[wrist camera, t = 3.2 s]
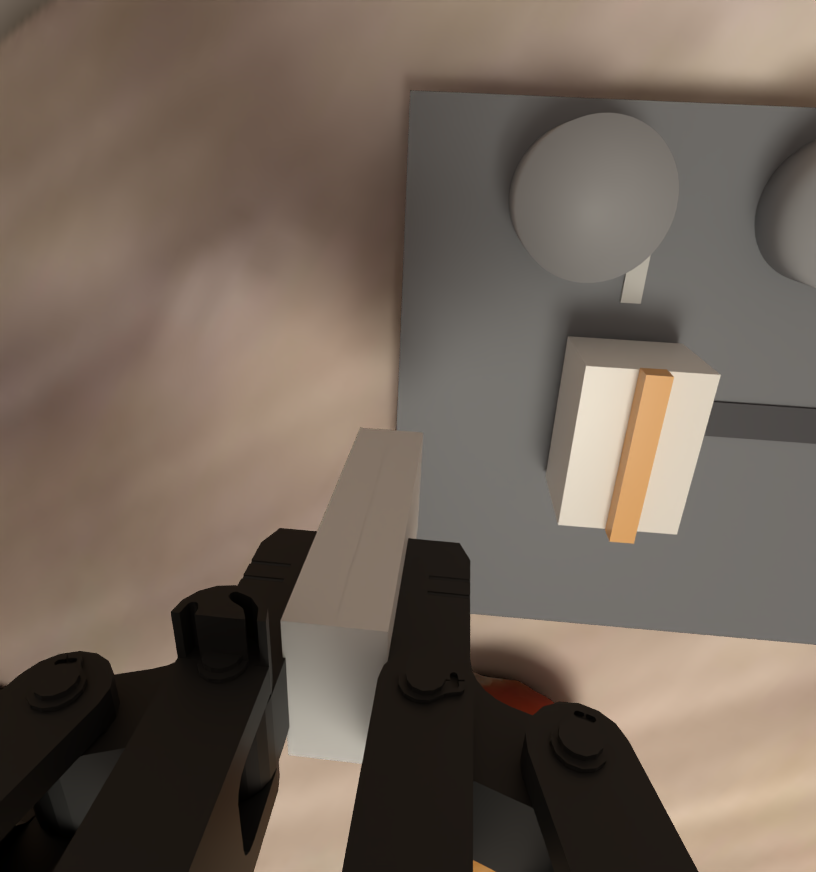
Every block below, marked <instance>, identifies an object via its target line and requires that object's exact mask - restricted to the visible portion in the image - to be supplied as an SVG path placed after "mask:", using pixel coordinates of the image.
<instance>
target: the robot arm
mask: <svg viewBox="0 0 816 872" xmlns="http://www.w3.org/2000/svg"><path fill="white" fill-rule="evenodd" d="M422 446H423V433H422V432H410V431H397V430H385V429H372V428H360V429H359V432H358V434H357V437H356V439H355V441H354V444H353V446H352V449H351V451H350V454H349V456H348V458H347V461H346V463H345V466H344V468H343V470H342V473H341V475H340V478H339V480H338V483H337V485H336V487H335V490H334V492H333V495H332V497H331V500H330V502H329V504H328V507H327V509H326V512H325V514H324V516H323V519H322V521H321V524H320V526H319V529H318V531H306V530H295V529H284V528H279V529H278V530H277V531H276V532H274V533H273V534H272V535H270V536H269V537H268V538H266V539H265V540H264V541H262V542H261V544H260V546H259V548H258V549H257V551H256V553H255V555H254V557H253V559H252V562H251V564H249V566H248V568H247V570H246V571H245V573H244V577H243V579H241V580H240V582H239V584H238V586H236V585H231V586H215V587H211V588H208V589H204V590H200V591H198V592H196V593H194V594H192V595H190V596H189V597H187V598H185V599H183V600H182V601H181V602H180V603H179V604H178V605H177V606H176V607H175V608H174V609H173V610H172V611H171V617H172V623H173V629H174V636H175V642H176V648H177V655H178V658H177V660H176V662H175V663H172V664H170V665H167V666H163V667H159V668H154V669H149V670H142V671H135V672H129V673H122V674H116V675H114V673H113V670H112V668H111V665H110V663H109V661H108V660H106V659H105V658H103V657H102V656H100V655H99V654H97V653H90V652H83V651H78V652H71V653H64V654H59V655H56V656H54V657H51V658H48V659H46V660H43V661H41V662H39V663H37V664H35V665H34V666H32V667H31V668H29V669H28V670H26V671H25V672H23V673H22V674H20V675H19V676H18V677H17V678H15V679H14V680H13V681H12V682H10V683H9V684H8V685H7V686H6V687H4V688H3V689H2V690H0V872H254V868H255V865H256V862H257V858H258V855H259V852H260V849H261V845H262V842H263V839H264V835H265V832H266V829H267V825H268V822H269V819H270V816H271V812H272V809H273V806H274V802H275V799H276V796H277V792H278V787H279V776H280V774H279V758H280V755H281V752H282V749H283V746H284V743H285V740H286V737H287V739H288V755H292V756H300V757H309V758H317V759H326V760H334V761H342V762H351V763H359V764H362V766H361V772H360V777H359V783H358V788H357V793H356V799H355V804H354V810H353V815H352V820H351V826H350V831H349V837H348V842H347V848H346V853H345V858H344V864H343V869H342V872H473V860H474V861H476V862H478V863H480V864H482V865H484V866H486V867H488V868H490V869H491V870H493V871H495V872H698V870H697V868H696V866H695V864H694V863H693V861H692V859H691V857H690V855H689V853H688V851H687V849H686V848H685V846H684V844H683V842H682V840H681V838H680V836H679V834H678V833H677V831H676V829H675V827H674V825H673V823H672V821H671V819H670V818H669V816H668V814H667V812H666V810H665V808H664V806H663V804H662V803H661V801H660V799H659V797H658V795H657V793H656V791H655V789H654V788H653V786H652V784H651V782H650V780H649V778H648V776H647V774H646V773H645V771H644V769H643V767H642V765H641V763H640V761H639V759H638V758H637V756H636V754H635V752H634V750H633V748H632V746H631V744H630V743H629V741H628V739H627V738H626V737H625V735H624V734H623V733H622V731H621V730H620V729H619V727H618V726H617V725H616V724H615V723H614V722H613V721H611V720H610V719H609V718H607V717H606V716H605V715H603V714H602V713H601V712H599V711H597V710H595V709H592V708H590V707H587V706H584V705H582V704H579V703H568V702H557V703H553V704H550V705H546V706H543V707H542V708H540V709H539V710H538V711H537V712H536V713H535V714H534V715H531V714H528V713H526V712H523V711H521V710H518V709H516V708H513V707H511V706H509V705H507V704H505V703H503V702H501V701H499V700H497V699H496V698H494V697H493V696H492V695H491V694H489V693H488V692H487V691H485V689H484V688H483V687H482V686H481V685H480V683H479V682H478V681H477V679H476V677H475V675H474V673H473V671H472V668H471V662H470V559H469V557H468V556H467V554H466V552H465V551H464V549H463V548H462V546H461V544H460V543H455V542H444V541H433V540H423V539H416V536H417V529H418V512H419V496H420V479H421V462H422Z"/></svg>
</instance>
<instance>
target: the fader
mask: <svg viewBox="0 0 816 872" xmlns="http://www.w3.org/2000/svg"><path fill="white" fill-rule="evenodd" d="M720 376H721V375H720V374H719V373H718V372H717V371H715V370H714V369H713V368H712V367H711V366H709V365H708V364H707V363H706V362H704V361H703V360H702V359H701V358H700V357H698V356H697V355H696V354H695V353H693V352H692V351H691V350H690V349H689V348H687V347H686V346H685V345H684V344H680V343H665V342H649V341H634V340H618V339H603V338H587V337H572V336H568V339H567V345H566V351H565V358H564V364H563V370H562V377H561V383H560V389H559V395H558V402H557V408H556V414H555V420H554V427H553V433H552V439H551V446H550V452H549V458H548V464H547V471H546V477H545V478H546V482H547V485H548V489H549V493H550V496H551V500H552V504H553V508H554V511H555V515H556V519H557V523H558V525H565V526H577V527H590V528H602V529H605V532H606V534H607V537H608V539H609V542H620V543H632V544H634V541H635V537H636V533H637V531H639V532H651V533H663V534H676V535H677V532H678V529H679V525H680V521H681V518H682V514H683V510H684V507H685V503H686V500H687V496H688V492H689V489H690V485H691V481H692V478H693V474H694V470H695V467H696V463H697V460H698V456H699V452H700V449H701V445H702V441H703V438H704V434H705V431H706V427H707V423H708V420H709V416H710V412H711V409H712V405H713V402H714V398H715V394H716V391H717V387H718V383H719V380H720Z"/></svg>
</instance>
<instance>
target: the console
mask: <svg viewBox="0 0 816 872" xmlns="http://www.w3.org/2000/svg"><path fill="white" fill-rule="evenodd" d="M568 336H572V337H587V338H603V339H618V340H634V341H649V342H665V343H680V344H684V345H685V346H686V347H687V348H689V349H690V350H691V351H692V352H693V353H695V354H696V355H697V356H698V357H700V358H701V359H702V360H703V361H704V362H706V363H707V364H708V365H709V366H711V367H712V368H713V369H714V370H715V371H717V372H718V373H719V374H720V375H721V376H720V380H719V383H718V387H717V391H716V394H715V398H714V402H713V405H712V409H711V412H710V416H709V420H708V423H707V427H706V431H705V434H704V438H703V441H702V445H701V449H700V452H699V456H698V460H697V463H696V467H695V470H694V474H693V478H692V481H691V485H690V489H689V492H688V496H687V500H686V503H685V507H684V510H683V514H682V518H681V521H680V525H679V529H678V532H677V535H676V534H663V533H651V532H639V531H637V533H636V537H635V541H634V544H632V543H620V542H609V539H608V537H607V534H606V532H605V529H602V528H590V527H577V526H565V525H558V523H557V519H556V515H555V511H554V508H553V504H552V500H551V496H550V493H549V489H548V485H547V482H546V478H545V477H546V471H547V464H548V458H549V452H550V446H551V439H552V433H553V427H554V420H555V414H556V408H557V402H558V395H559V389H560V383H561V377H562V370H563V364H564V358H565V351H566V345H567V339H568ZM397 431H410V432H422V433H423V446H422V462H421V479H420V496H419V512H418V529H417V536H416V539H423V540H433V541H444V542H455V543H460V544H461V546H462V548H463V549H464V551H465V552H466V554H467V556H468V557H469V559H470V614H480V615H491V616H502V617H513V618H524V619H535V620H546V621H558V622H569V623H580V624H591V625H602V626H613V627H624V628H635V629H647V630H658V631H669V632H680V633H691V634H702V635H713V636H724V637H736V638H747V639H758V640H769V641H780V642H791V643H802V644H813V645H816V108H809V107H785V106H762V105H739V104H715V103H692V102H669V101H645V100H622V99H599V98H575V97H552V96H529V95H505V94H482V93H458V92H435V91H412V90H410V109H409V134H408V159H407V184H406V209H405V234H404V259H403V283H402V308H401V333H400V358H399V383H398V408H397Z"/></svg>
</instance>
